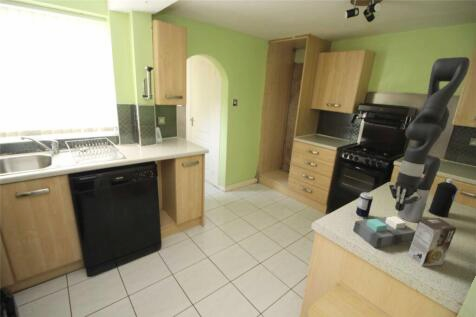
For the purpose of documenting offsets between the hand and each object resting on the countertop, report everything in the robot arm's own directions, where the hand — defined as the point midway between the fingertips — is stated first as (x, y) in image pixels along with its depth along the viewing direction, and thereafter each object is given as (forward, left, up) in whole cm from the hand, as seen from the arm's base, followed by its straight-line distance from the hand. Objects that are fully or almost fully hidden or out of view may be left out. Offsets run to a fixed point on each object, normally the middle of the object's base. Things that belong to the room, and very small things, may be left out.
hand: (398, 210), depth 96 cm
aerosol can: (-44, -10, -13) cm, 47 cm away
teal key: (+10, 0, -9) cm, 14 cm away
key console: (+5, 0, -12) cm, 13 cm away
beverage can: (+1, -16, -13) cm, 20 cm away
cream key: (0, 0, -9) cm, 9 cm away
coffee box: (+1, +15, -13) cm, 20 cm away
